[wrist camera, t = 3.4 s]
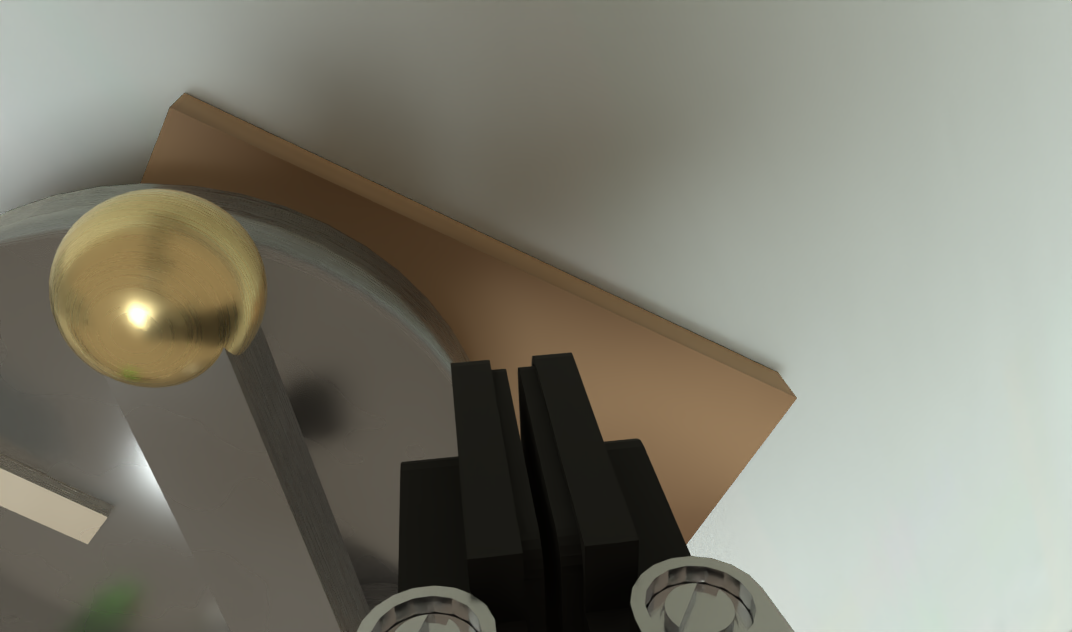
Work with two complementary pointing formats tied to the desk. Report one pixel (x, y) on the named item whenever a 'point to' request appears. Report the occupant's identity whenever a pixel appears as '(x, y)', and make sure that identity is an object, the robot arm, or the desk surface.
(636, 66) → the desk surface
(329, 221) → the stand
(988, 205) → the desk surface
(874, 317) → the desk surface
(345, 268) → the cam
